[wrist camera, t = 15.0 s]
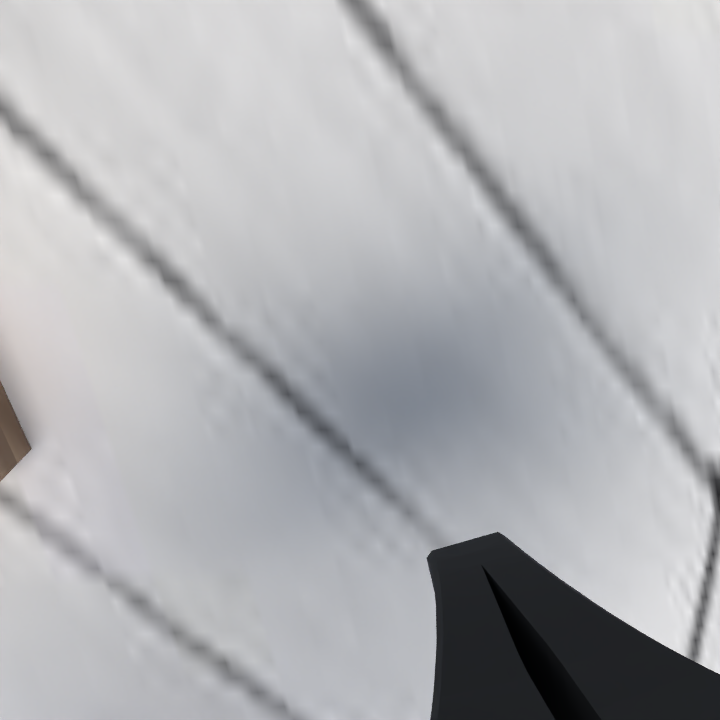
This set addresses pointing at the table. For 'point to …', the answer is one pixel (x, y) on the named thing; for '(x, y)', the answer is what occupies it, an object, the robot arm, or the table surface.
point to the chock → (10, 437)
